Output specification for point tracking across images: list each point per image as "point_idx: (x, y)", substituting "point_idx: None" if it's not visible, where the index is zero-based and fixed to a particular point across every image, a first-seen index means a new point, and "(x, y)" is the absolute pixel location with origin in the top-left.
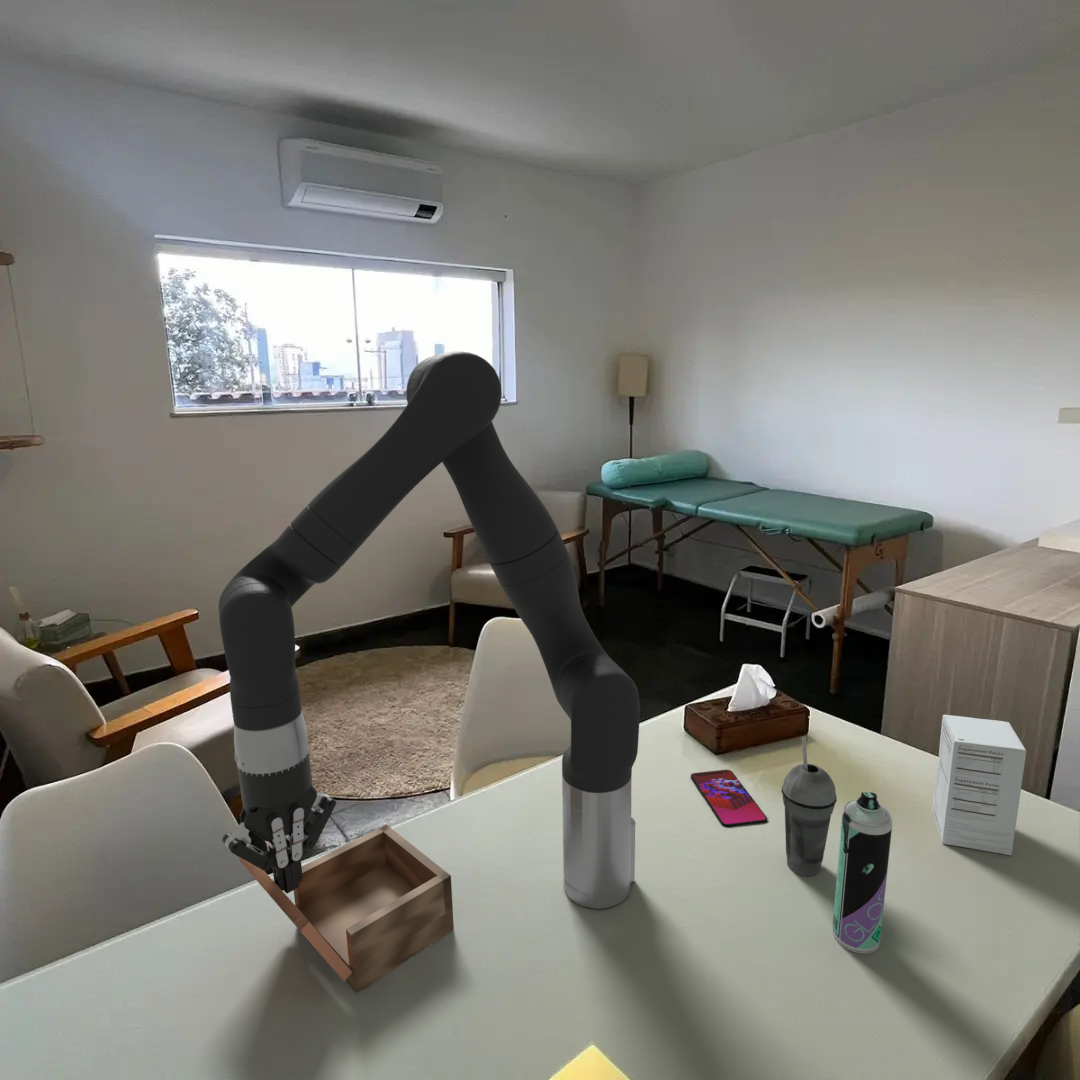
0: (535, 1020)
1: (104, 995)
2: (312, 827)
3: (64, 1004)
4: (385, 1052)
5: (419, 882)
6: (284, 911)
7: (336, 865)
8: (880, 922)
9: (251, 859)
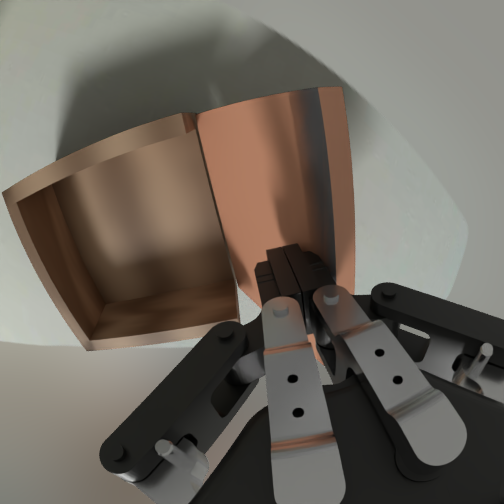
0: (44, 9)
1: (416, 268)
2: (212, 391)
3: (434, 273)
4: (195, 14)
5: (59, 235)
6: (348, 146)
7: (167, 318)
8: None
9: (451, 310)
